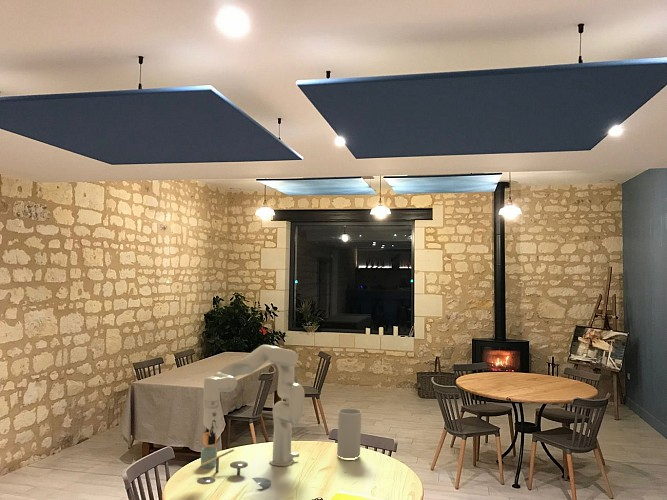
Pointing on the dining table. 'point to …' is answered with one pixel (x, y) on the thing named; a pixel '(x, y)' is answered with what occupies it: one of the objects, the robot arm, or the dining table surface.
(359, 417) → the cylinder vase
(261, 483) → the dish
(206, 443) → the block
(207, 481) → the balance
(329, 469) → the dining table surface
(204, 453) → the cup
